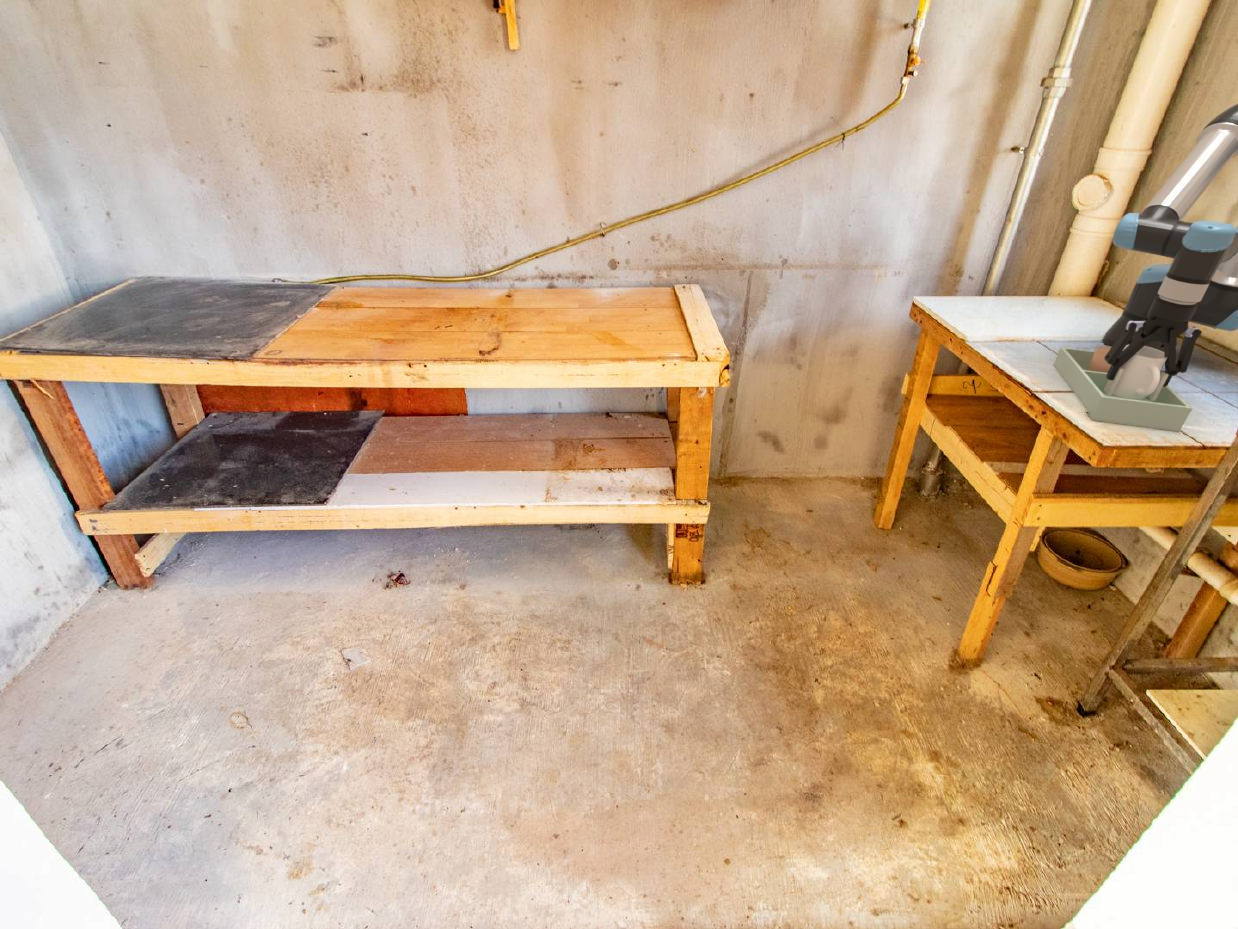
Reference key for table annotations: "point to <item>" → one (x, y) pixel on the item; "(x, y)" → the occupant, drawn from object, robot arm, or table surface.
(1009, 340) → the table surface
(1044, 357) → the table surface
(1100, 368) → the peach rounded cylinder
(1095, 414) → the caddy
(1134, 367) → the mug
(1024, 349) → the table surface
